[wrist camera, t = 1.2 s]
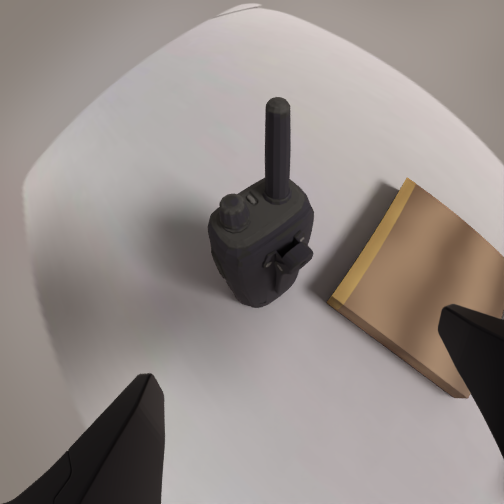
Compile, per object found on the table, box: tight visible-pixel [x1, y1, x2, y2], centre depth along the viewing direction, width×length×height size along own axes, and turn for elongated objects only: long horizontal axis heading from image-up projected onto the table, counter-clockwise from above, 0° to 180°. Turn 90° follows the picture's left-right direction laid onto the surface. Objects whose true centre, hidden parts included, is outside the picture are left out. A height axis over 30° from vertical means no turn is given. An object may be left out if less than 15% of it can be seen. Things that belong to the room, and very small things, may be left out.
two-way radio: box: [208, 97, 314, 308], centre depth 14 cm, size 6×4×15 cm
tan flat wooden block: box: [326, 178, 504, 398], centre depth 19 cm, size 14×13×2 cm
